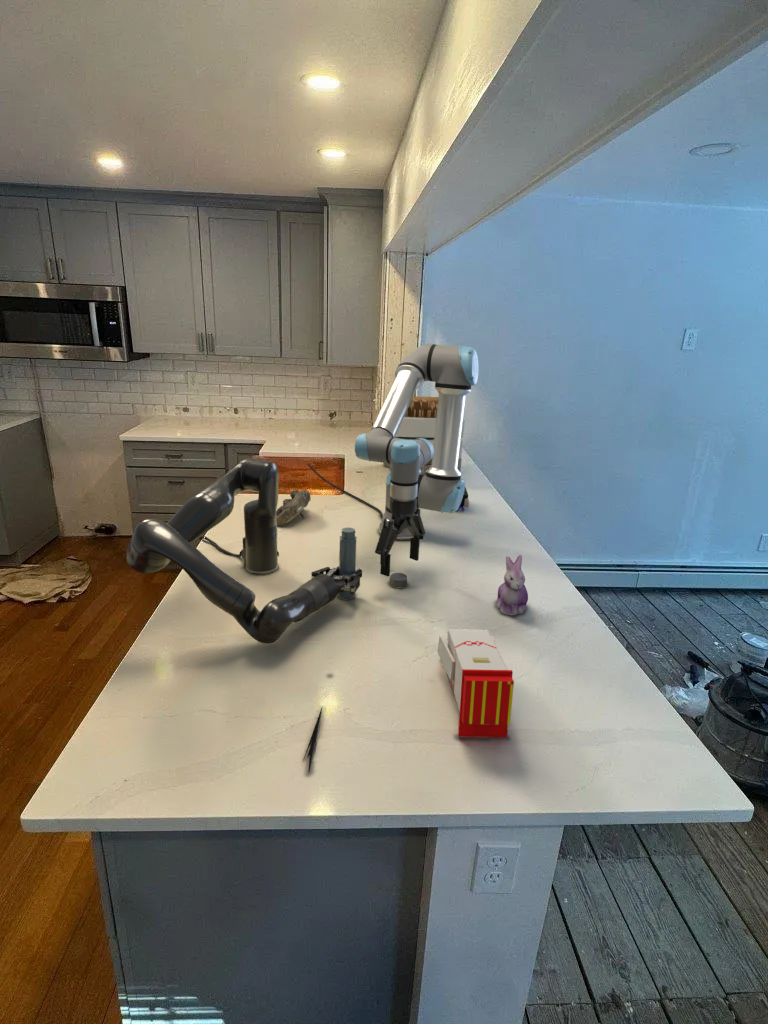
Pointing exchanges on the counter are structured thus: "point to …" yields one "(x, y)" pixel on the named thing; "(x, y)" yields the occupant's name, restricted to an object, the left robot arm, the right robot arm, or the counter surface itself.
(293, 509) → the fossil
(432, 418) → the white wooden crate
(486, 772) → the counter surface
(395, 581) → the lid
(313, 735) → the feather
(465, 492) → the figurine character
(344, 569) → the bottle
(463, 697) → the toy
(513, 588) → the figurine
